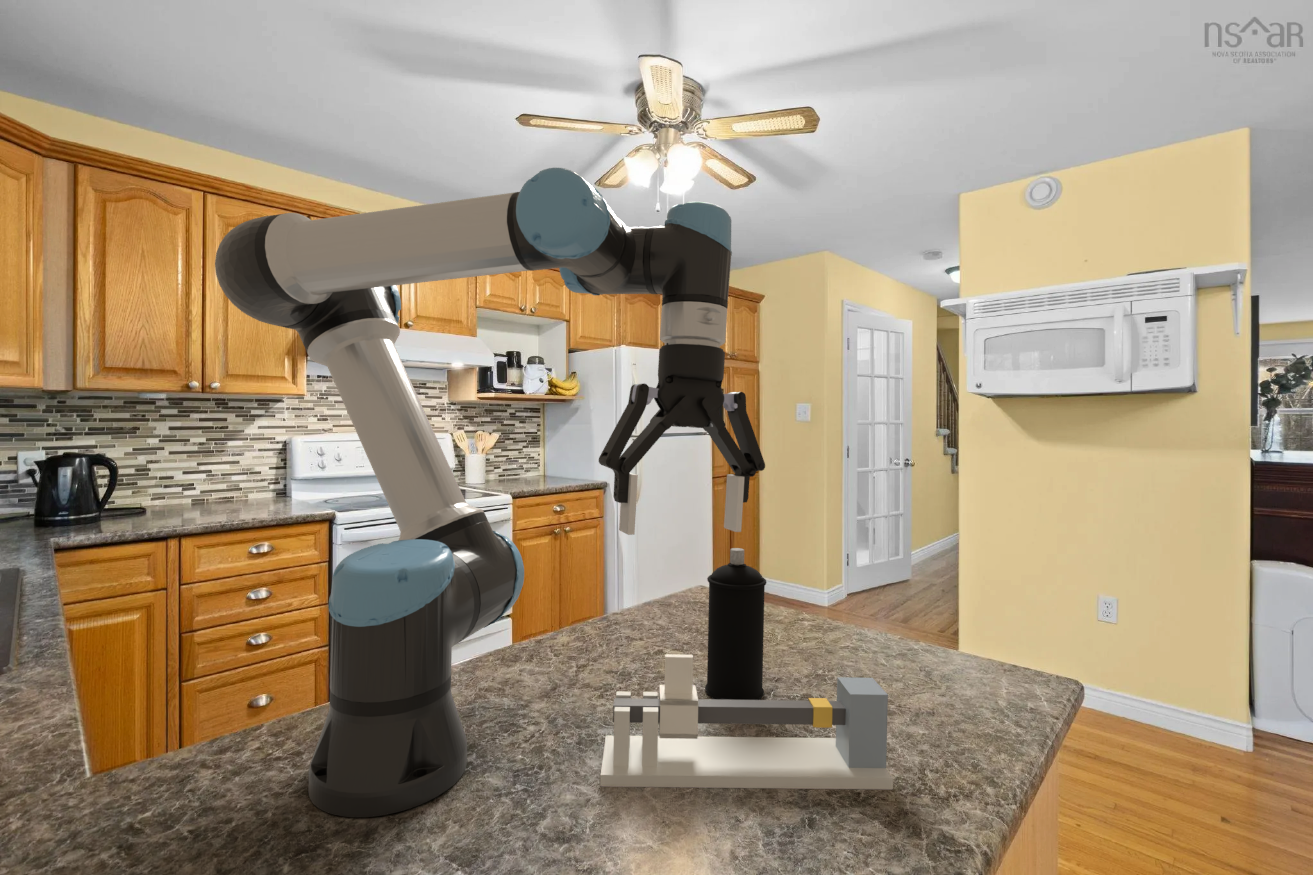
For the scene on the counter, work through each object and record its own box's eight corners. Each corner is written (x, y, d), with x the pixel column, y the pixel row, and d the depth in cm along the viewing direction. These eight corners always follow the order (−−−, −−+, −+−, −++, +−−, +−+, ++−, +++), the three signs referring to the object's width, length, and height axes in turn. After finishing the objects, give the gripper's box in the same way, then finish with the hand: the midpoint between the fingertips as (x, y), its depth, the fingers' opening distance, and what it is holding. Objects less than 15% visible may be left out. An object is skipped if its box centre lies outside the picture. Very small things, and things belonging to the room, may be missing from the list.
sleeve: (659, 738, 64) (661, 662, 64) (658, 720, 68) (660, 648, 68) (697, 738, 64) (699, 663, 64) (694, 720, 68) (696, 649, 68)
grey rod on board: (600, 786, 62) (602, 698, 62) (605, 745, 70) (607, 667, 70) (892, 789, 63) (894, 702, 62) (864, 748, 71) (866, 671, 70)
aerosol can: (763, 707, 80) (766, 557, 80) (701, 701, 82) (704, 553, 82) (764, 682, 89) (767, 545, 88) (708, 677, 90) (711, 542, 90)
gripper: (599, 329, 61) (588, 540, 61) (801, 354, 71) (790, 534, 72) (577, 337, 68) (567, 527, 68) (764, 358, 78) (754, 523, 79)
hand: (681, 531), depth 70 cm, fingers open, 13 cm apart
